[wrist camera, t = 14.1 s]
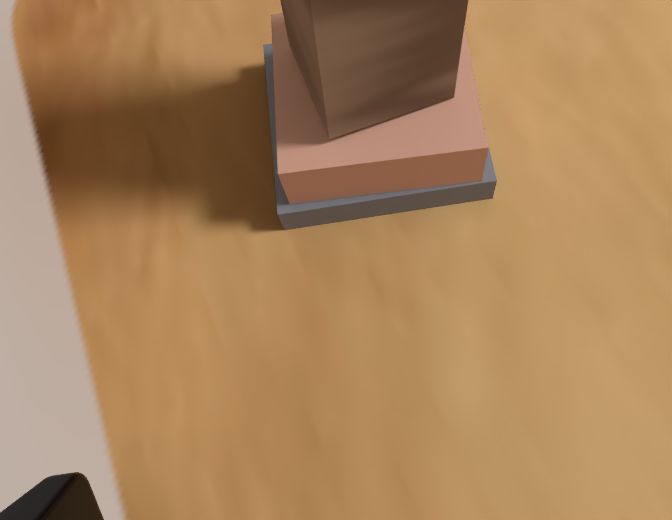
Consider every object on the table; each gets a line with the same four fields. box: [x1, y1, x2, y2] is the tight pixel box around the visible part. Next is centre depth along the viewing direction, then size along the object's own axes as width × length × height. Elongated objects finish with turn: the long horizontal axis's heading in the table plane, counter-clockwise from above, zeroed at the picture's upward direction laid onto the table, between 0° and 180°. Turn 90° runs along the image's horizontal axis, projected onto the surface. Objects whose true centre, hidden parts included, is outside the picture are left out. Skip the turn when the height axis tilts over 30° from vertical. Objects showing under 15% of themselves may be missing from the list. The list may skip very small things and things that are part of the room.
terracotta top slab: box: [271, 13, 488, 204], centre depth 23 cm, size 7×7×2 cm
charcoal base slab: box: [263, 44, 497, 230], centre depth 25 cm, size 8×8×2 cm
